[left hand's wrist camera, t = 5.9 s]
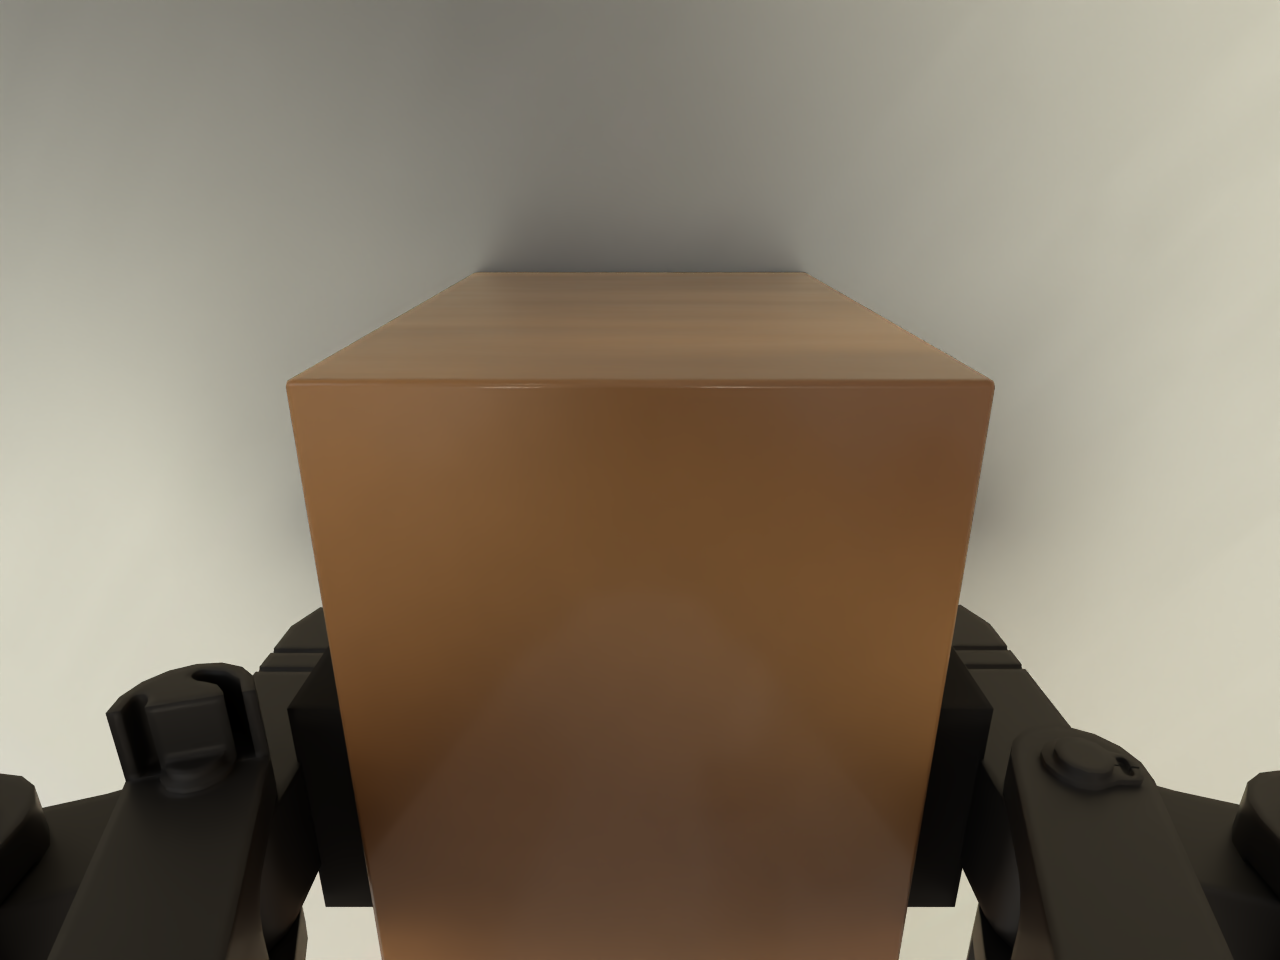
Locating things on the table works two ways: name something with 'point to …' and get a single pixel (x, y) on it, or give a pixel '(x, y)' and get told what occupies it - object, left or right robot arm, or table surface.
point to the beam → (640, 611)
